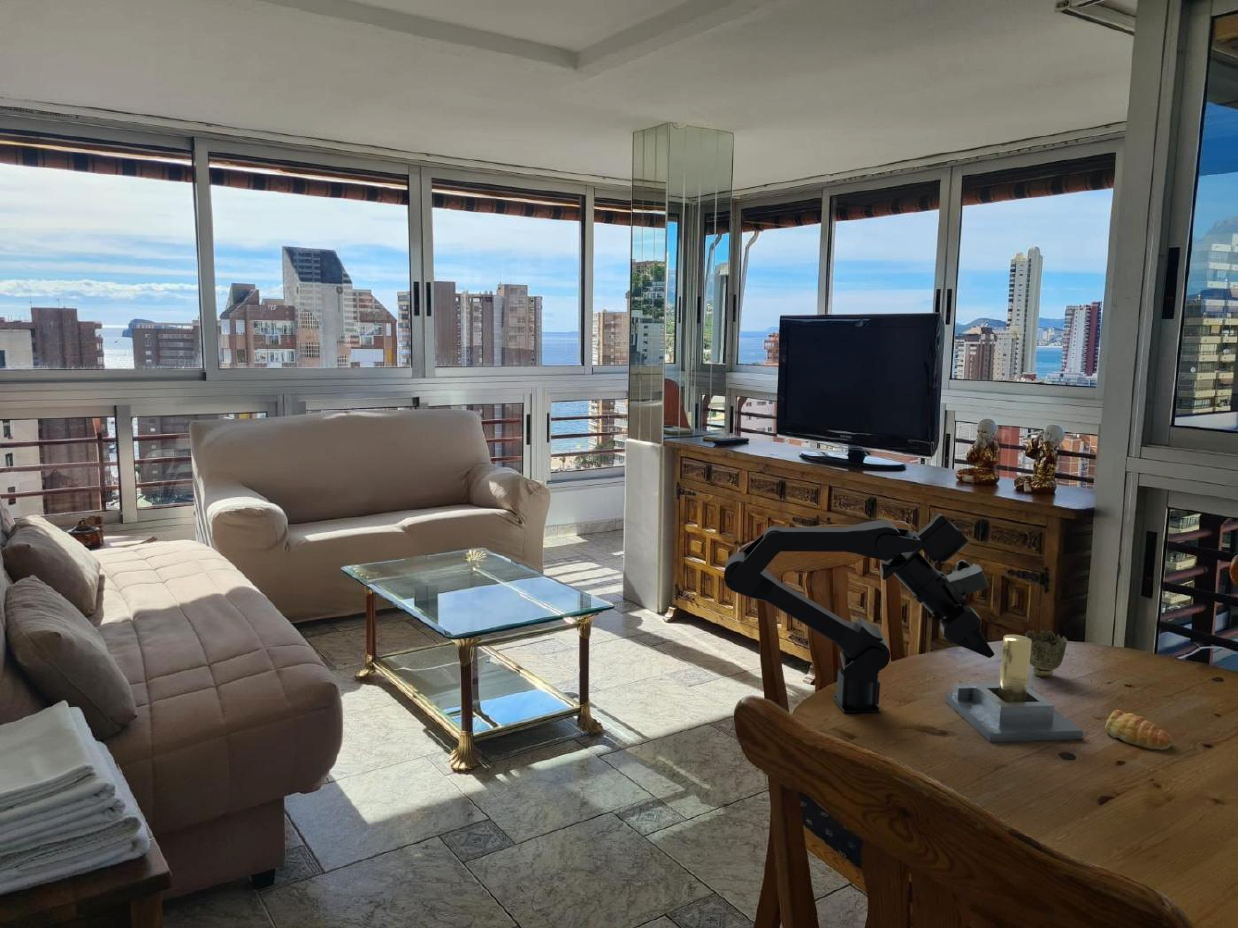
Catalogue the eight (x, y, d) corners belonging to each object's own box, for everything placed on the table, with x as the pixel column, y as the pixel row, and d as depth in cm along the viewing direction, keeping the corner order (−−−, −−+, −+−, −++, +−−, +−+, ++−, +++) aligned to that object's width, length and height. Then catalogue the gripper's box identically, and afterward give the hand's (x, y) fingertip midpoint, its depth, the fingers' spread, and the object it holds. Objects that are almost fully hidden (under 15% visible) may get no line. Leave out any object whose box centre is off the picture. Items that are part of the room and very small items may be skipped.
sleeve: (1015, 718, 153) (1022, 645, 151) (992, 709, 157) (998, 637, 155) (1030, 712, 156) (1036, 640, 154) (1006, 703, 159) (1012, 632, 157)
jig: (989, 741, 148) (991, 715, 147) (945, 701, 163) (947, 677, 163) (1082, 739, 149) (1084, 713, 149) (1029, 699, 165) (1031, 675, 164)
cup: (1055, 668, 180) (1059, 630, 179) (1069, 683, 173) (1073, 643, 171) (1016, 666, 181) (1019, 628, 179) (1029, 681, 173) (1032, 641, 172)
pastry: (1177, 744, 148) (1180, 722, 148) (1161, 757, 144) (1164, 734, 144) (1117, 724, 156) (1119, 703, 155) (1100, 735, 151) (1102, 714, 151)
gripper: (971, 563, 145) (1039, 635, 144) (950, 537, 163) (1010, 600, 162) (916, 608, 147) (983, 678, 147) (902, 577, 165) (961, 639, 165)
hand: (986, 646), depth 155 cm, fingers open, 9 cm apart
